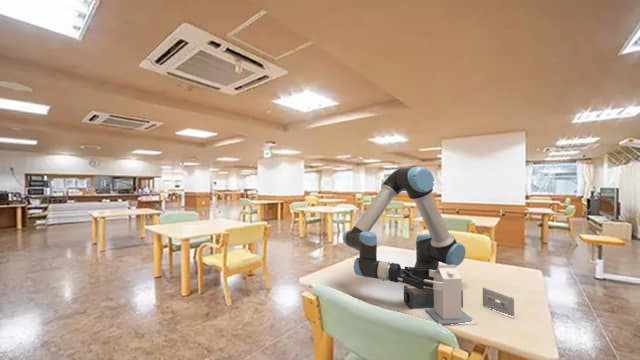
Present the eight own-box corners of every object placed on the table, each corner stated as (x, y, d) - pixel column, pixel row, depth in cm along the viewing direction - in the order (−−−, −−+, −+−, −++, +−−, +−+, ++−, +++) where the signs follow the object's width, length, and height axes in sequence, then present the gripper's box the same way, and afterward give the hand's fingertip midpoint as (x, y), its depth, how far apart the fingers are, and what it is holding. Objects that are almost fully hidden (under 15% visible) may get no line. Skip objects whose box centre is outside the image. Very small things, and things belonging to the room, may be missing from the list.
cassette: (481, 306, 112) (481, 287, 112) (484, 305, 113) (484, 286, 113) (512, 319, 101) (512, 298, 102) (515, 318, 102) (515, 297, 102)
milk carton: (433, 310, 106) (433, 262, 106) (451, 310, 107) (450, 262, 107) (443, 319, 99) (443, 268, 99) (461, 319, 100) (461, 267, 100)
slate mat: (458, 309, 108) (458, 307, 108) (476, 324, 98) (476, 321, 98) (425, 311, 107) (425, 309, 107) (439, 325, 96) (439, 323, 96)
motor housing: (453, 300, 118) (452, 284, 118) (462, 307, 111) (462, 290, 111) (402, 301, 116) (402, 285, 116) (409, 309, 109) (409, 292, 109)
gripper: (397, 272, 124) (447, 280, 114) (381, 290, 103) (441, 303, 92) (397, 256, 125) (447, 262, 114) (381, 271, 103) (441, 281, 92)
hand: (445, 280), depth 103 cm, fingers open, 13 cm apart
